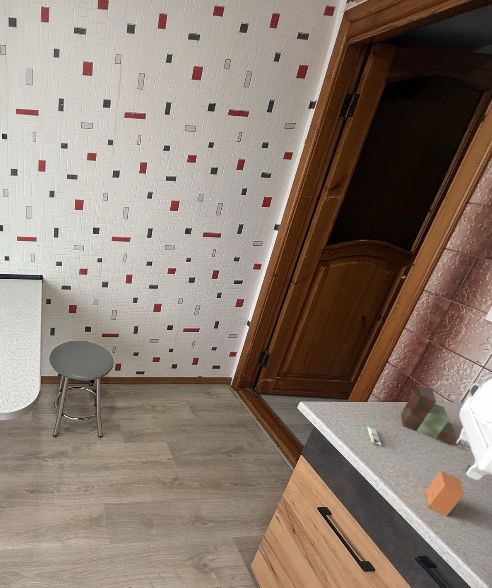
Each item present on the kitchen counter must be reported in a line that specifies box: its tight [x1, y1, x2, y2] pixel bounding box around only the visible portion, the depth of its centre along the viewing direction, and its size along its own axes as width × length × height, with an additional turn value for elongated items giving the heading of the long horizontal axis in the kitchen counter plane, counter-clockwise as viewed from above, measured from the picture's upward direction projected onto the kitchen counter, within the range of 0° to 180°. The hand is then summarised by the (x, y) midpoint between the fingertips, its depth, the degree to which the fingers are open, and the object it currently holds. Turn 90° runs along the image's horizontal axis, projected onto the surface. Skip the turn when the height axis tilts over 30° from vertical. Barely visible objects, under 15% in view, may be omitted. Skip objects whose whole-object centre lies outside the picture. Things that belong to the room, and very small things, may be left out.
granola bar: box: [366, 426, 382, 447], centre depth 91 cm, size 7×2×1 cm, turn 150°
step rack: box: [400, 384, 457, 446], centre depth 94 cm, size 10×7×11 cm
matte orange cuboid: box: [424, 470, 465, 517], centre depth 73 cm, size 3×5×7 cm, turn 140°
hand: (466, 461), depth 69 cm, fingers open, 8 cm apart
